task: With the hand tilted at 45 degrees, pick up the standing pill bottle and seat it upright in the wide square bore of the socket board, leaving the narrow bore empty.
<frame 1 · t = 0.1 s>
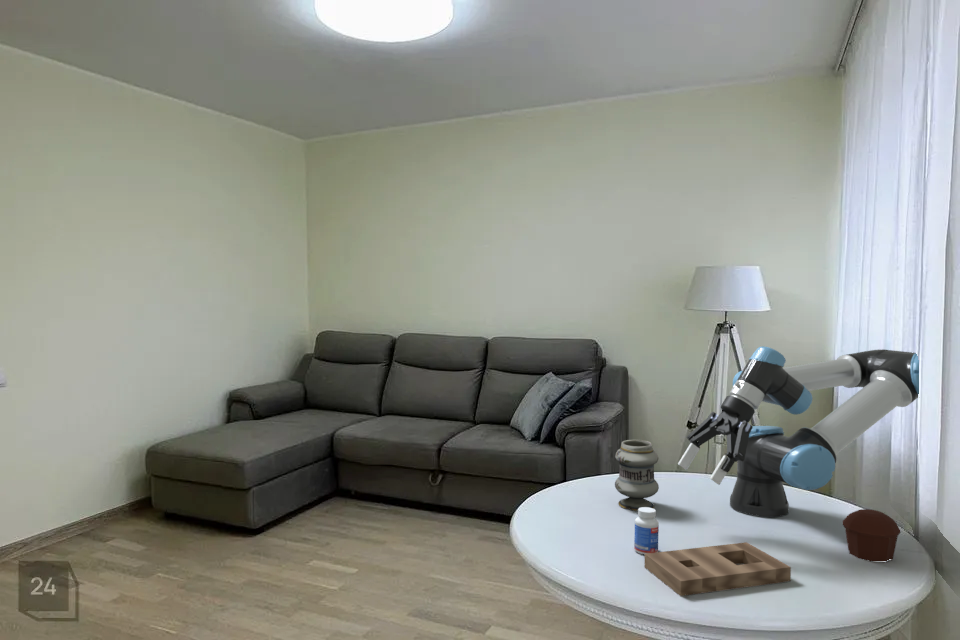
hand: (697, 474, 160), 15 cm above the table, tool tilted 35°, fingers open, 13 cm apart
socket board: (715, 574, 138), on the table
pill bottle: (646, 552, 150), on the table
apothecary jar: (636, 506, 183), on the table
muffin: (870, 555, 149), on the table
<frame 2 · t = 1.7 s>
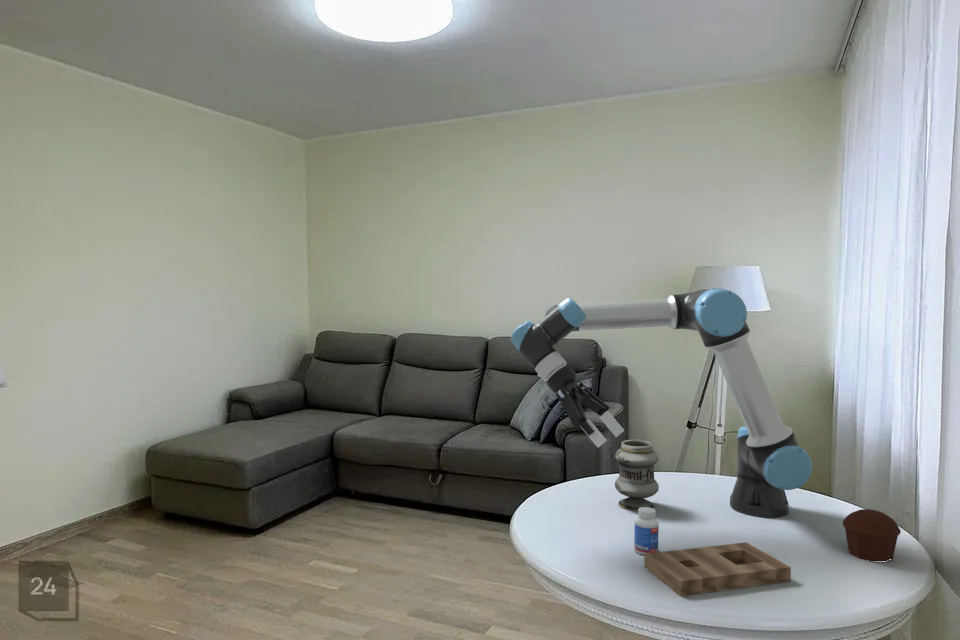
hand: (611, 439, 159), 24 cm above the table, tool tilted 45°, fingers open, 13 cm apart
nothing on the table moved.
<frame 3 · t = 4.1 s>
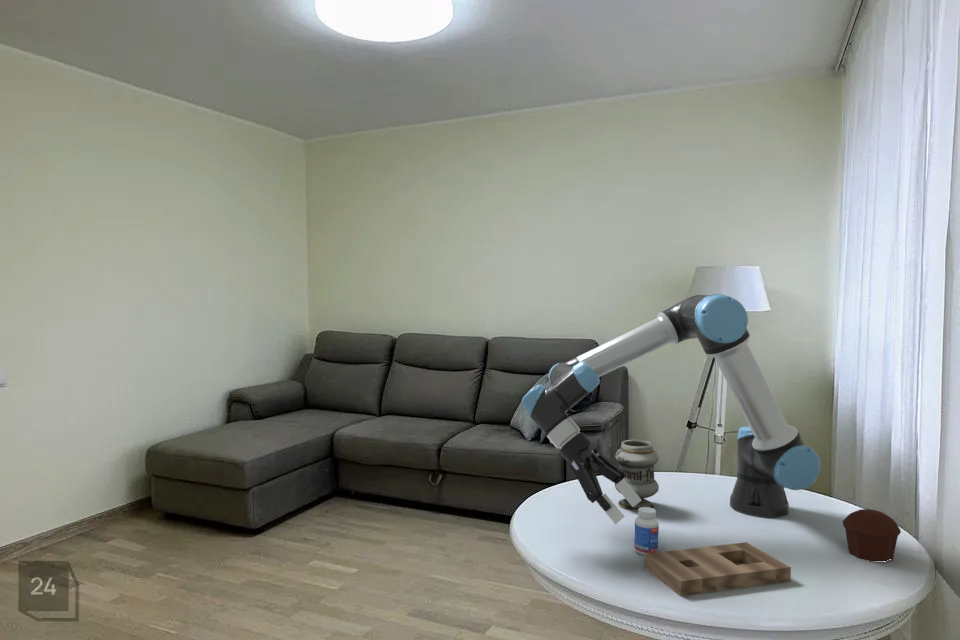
hand: (629, 511, 151), 9 cm above the table, tool tilted 45°, fingers open, 13 cm apart
nothing on the table moved.
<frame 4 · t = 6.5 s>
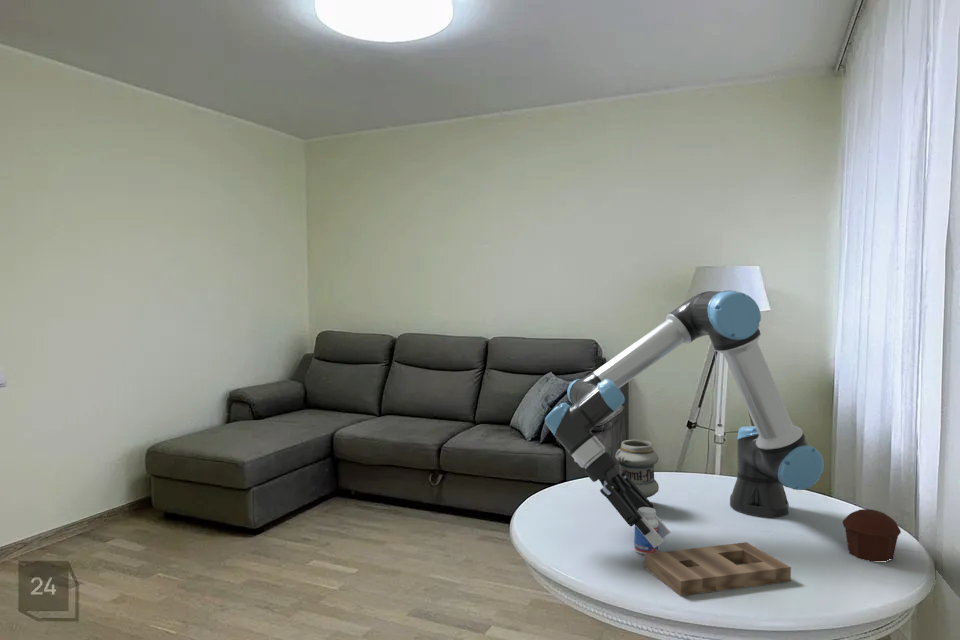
hand: (662, 539, 148), 3 cm above the table, tool tilted 45°, fingers closed on pill bottle, 5 cm apart
pill bottle: (646, 551, 150), on the table, touching gripper
everything else where it was.
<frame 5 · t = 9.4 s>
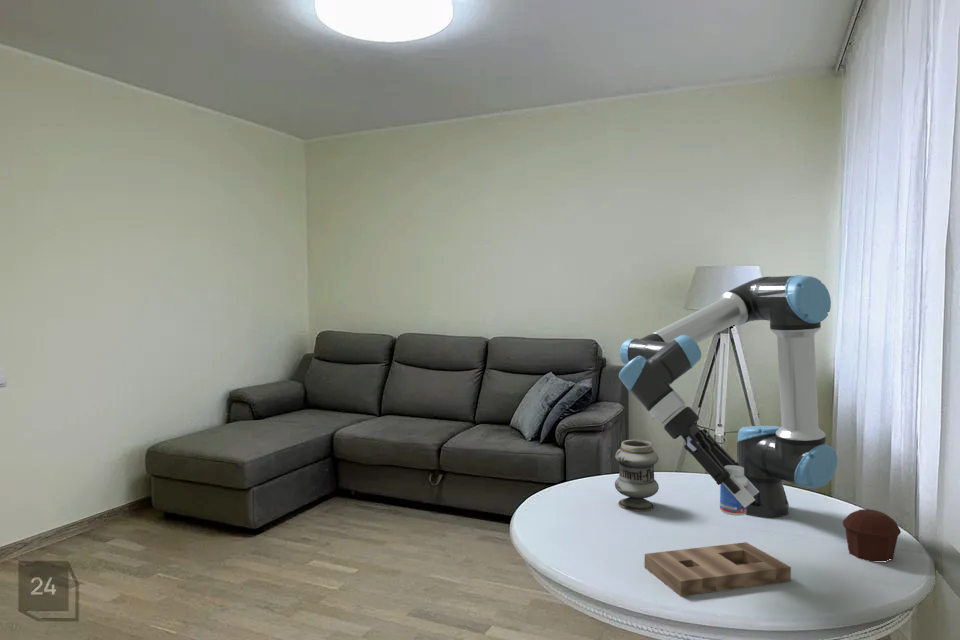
hand: (752, 499, 138), 16 cm above the table, tool tilted 45°, fingers closed on pill bottle, 5 cm apart
pill bottle: (733, 512, 140), point 13 cm above the table, touching gripper
everything else where it was.
when the fingers open (5 cm above the table, at t = 12.6 s): pill bottle drops 1 cm, resting in socket board.
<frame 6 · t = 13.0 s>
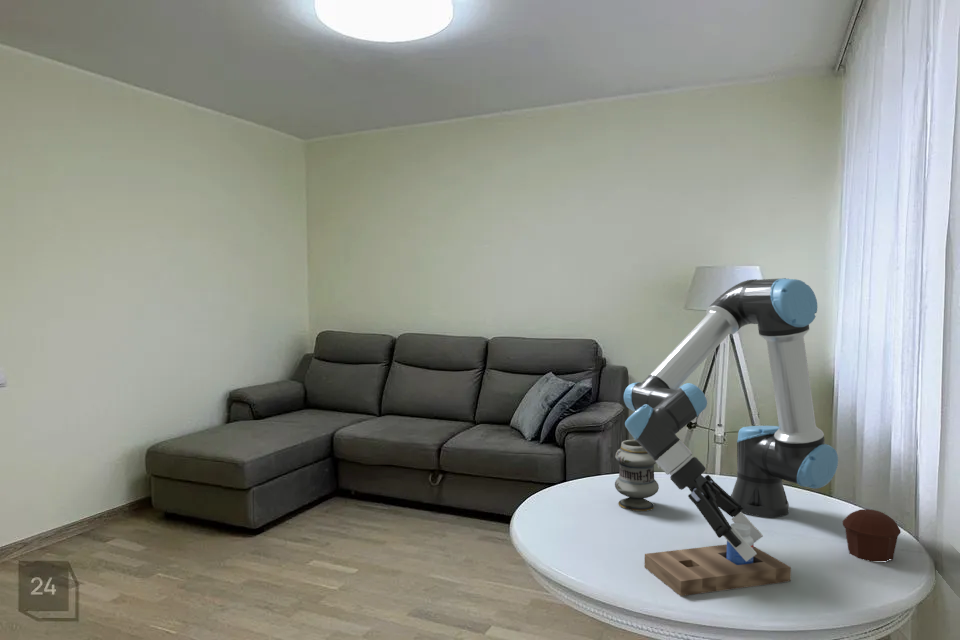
hand: (754, 548, 138), 6 cm above the table, tool tilted 45°, fingers open, 10 cm apart
pill bottle: (739, 571, 140), resting in socket board
everything else where it was.
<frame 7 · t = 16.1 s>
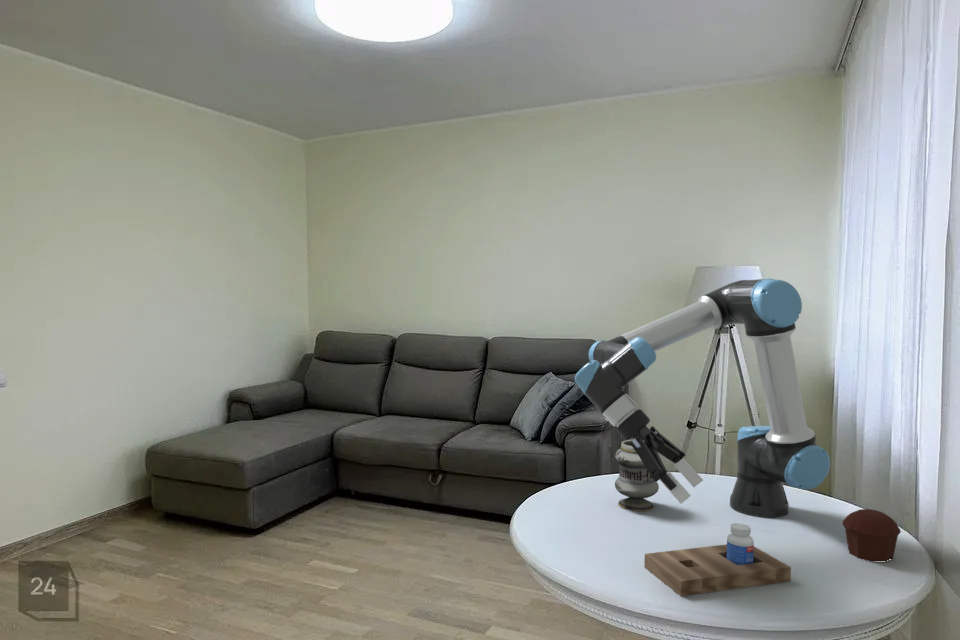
hand: (692, 491, 144), 16 cm above the table, tool tilted 45°, fingers open, 13 cm apart
nothing on the table moved.
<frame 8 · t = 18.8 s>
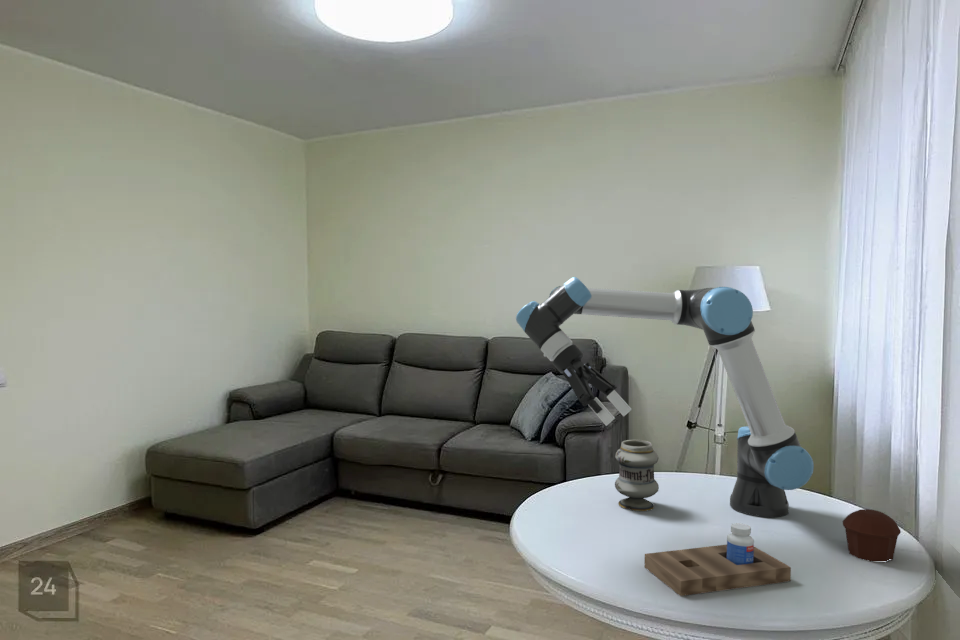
hand: (619, 417, 158), 30 cm above the table, tool tilted 45°, fingers open, 13 cm apart
nothing on the table moved.
at the end: pill bottle 0.1 cm from the target spot on the socket board, point 0.0 cm above the socket board's base; pill bottle tilted 0°; the gripper is holding nothing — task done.
